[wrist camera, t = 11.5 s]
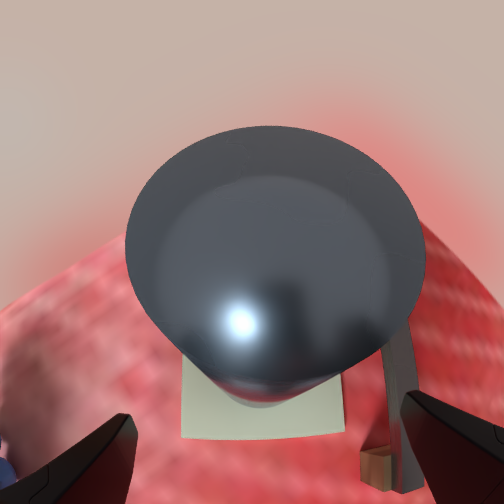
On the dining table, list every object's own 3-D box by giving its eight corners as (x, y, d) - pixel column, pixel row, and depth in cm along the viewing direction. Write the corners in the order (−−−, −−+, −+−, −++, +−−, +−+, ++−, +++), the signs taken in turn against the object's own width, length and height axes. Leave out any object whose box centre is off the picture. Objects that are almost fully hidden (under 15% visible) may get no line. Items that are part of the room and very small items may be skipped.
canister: (322, 381, 15) (472, 274, 4) (238, 423, 14) (193, 445, 3) (279, 307, 18) (318, 109, 7) (200, 342, 17) (106, 174, 5)
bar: (412, 483, 9) (424, 486, 8) (391, 490, 9) (401, 494, 8) (377, 240, 17) (383, 228, 16) (359, 241, 17) (364, 229, 16)
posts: (391, 473, 12) (419, 480, 9) (360, 480, 12) (383, 491, 9) (365, 268, 20) (382, 240, 17) (338, 270, 20) (352, 241, 17)
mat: (342, 431, 14) (344, 431, 14) (183, 437, 14) (181, 437, 14) (327, 291, 19) (329, 287, 18) (188, 295, 19) (186, 291, 18)
